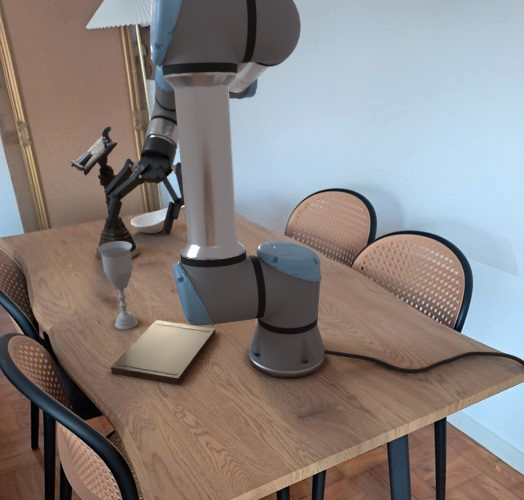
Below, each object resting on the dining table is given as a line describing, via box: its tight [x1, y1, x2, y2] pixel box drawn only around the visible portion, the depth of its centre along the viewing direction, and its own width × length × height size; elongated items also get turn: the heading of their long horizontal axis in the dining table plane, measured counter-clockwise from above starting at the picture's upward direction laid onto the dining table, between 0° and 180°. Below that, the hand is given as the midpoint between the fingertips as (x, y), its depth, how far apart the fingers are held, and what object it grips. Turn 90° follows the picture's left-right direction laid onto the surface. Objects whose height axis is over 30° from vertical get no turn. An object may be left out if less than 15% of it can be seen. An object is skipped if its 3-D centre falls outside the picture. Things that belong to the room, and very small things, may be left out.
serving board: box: [110, 319, 217, 386], centre depth 113 cm, size 14×20×2 cm
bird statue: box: [69, 126, 140, 260], centre depth 150 cm, size 17×13×35 cm
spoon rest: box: [130, 205, 185, 234], centre depth 178 cm, size 24×12×7 cm, turn 113°
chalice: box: [97, 241, 138, 330], centre depth 119 cm, size 7×7×18 cm
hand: (138, 228), depth 123 cm, fingers open, 13 cm apart
